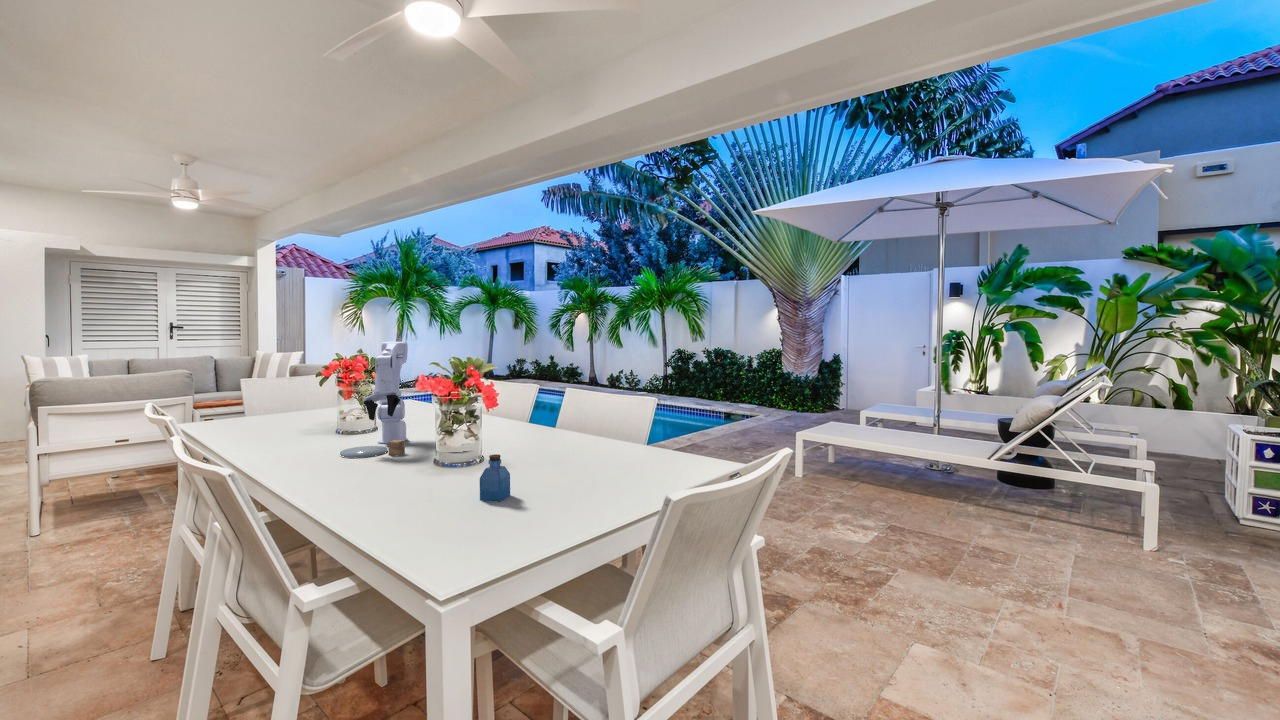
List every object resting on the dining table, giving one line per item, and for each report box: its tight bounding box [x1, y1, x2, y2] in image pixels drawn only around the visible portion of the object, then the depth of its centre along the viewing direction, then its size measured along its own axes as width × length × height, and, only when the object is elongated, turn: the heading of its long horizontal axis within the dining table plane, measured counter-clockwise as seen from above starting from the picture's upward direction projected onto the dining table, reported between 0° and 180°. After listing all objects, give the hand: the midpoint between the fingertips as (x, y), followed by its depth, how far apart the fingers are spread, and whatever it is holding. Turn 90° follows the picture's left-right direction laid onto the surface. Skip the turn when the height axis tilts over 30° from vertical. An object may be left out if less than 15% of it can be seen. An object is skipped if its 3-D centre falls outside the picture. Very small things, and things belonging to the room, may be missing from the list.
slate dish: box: [339, 445, 388, 458], centre depth 211 cm, size 16×16×1 cm
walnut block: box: [388, 440, 406, 456], centre depth 209 cm, size 4×4×5 cm
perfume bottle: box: [479, 453, 511, 503], centre depth 157 cm, size 6×6×12 cm
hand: (380, 417), depth 207 cm, fingers open, 7 cm apart
